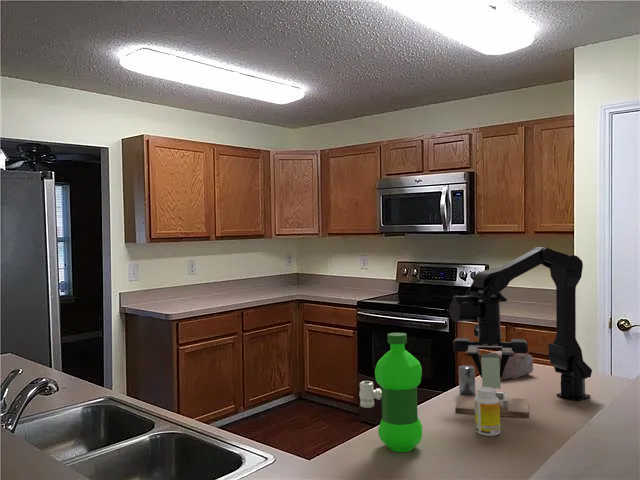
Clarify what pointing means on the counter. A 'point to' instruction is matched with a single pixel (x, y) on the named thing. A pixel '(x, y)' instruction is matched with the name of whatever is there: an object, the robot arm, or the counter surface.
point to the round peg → (467, 380)
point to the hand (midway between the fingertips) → (491, 377)
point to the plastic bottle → (399, 395)
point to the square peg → (490, 370)
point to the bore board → (507, 405)
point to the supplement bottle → (487, 412)
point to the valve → (368, 394)
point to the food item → (516, 365)
